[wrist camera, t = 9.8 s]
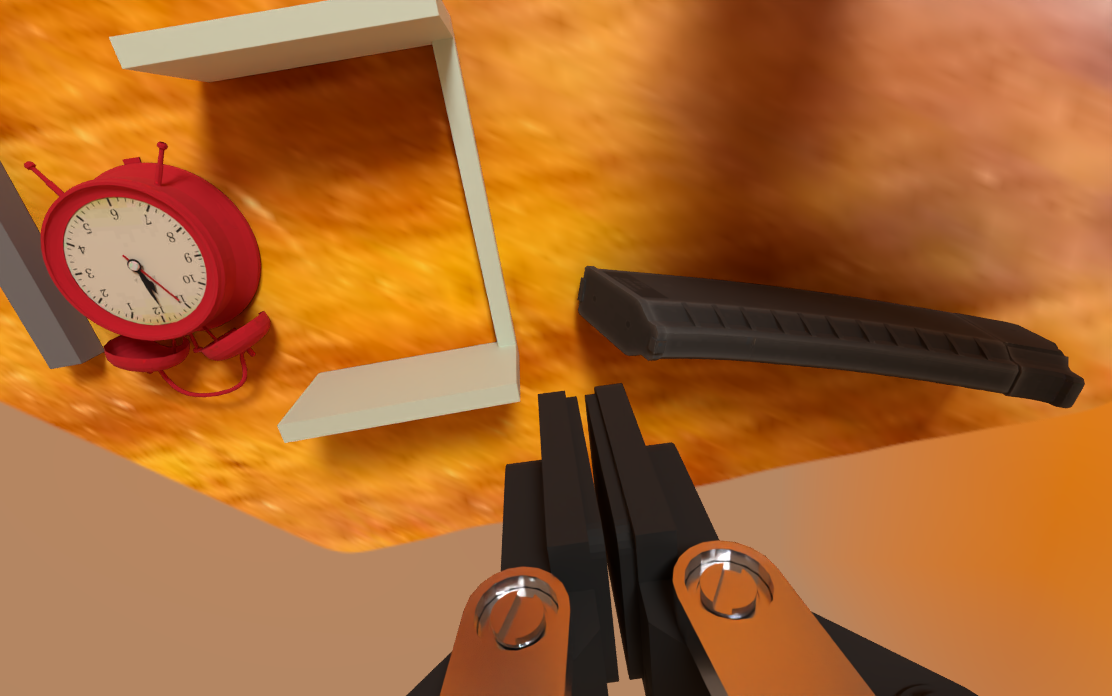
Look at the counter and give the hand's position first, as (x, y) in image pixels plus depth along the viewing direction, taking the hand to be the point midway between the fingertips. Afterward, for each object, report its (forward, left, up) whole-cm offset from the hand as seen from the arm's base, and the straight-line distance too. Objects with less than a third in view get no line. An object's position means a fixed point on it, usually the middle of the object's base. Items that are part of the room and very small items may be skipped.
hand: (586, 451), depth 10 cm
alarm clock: (-1, -23, -26) cm, 34 cm away
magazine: (+9, +17, -26) cm, 32 cm away
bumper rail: (-4, -31, -25) cm, 40 cm away
